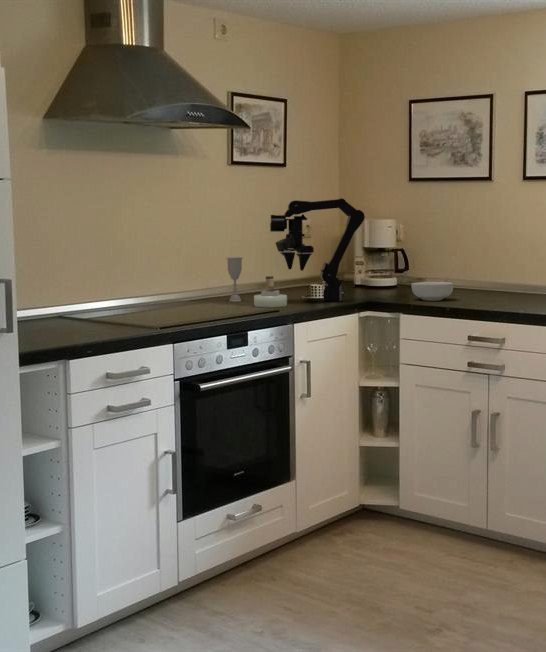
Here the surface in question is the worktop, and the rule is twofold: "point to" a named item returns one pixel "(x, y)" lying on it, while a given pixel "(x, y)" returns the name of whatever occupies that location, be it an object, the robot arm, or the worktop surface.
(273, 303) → the disc with square recess
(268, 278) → the dowel
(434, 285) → the cereal bowl
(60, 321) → the worktop surface
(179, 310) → the worktop surface
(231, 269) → the chalice
